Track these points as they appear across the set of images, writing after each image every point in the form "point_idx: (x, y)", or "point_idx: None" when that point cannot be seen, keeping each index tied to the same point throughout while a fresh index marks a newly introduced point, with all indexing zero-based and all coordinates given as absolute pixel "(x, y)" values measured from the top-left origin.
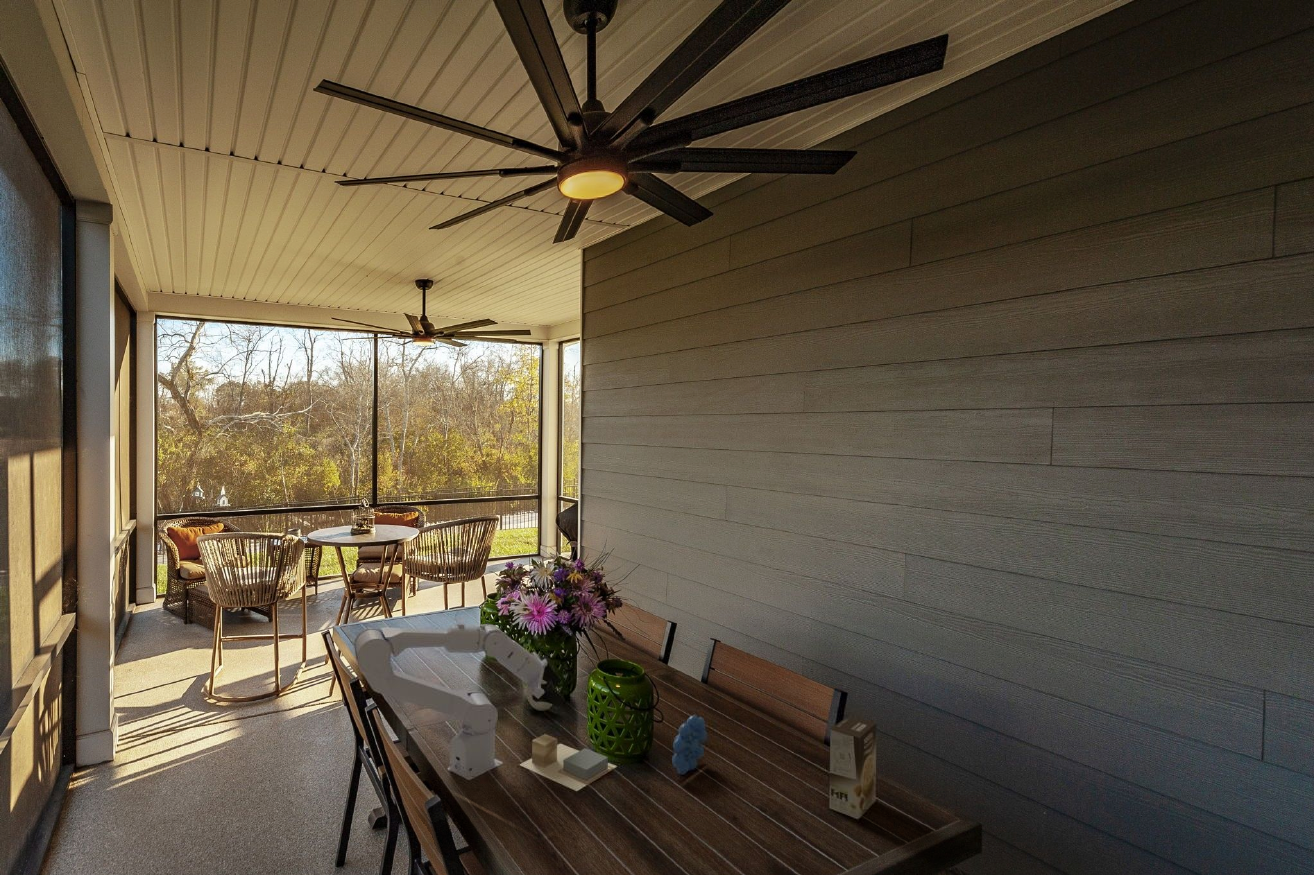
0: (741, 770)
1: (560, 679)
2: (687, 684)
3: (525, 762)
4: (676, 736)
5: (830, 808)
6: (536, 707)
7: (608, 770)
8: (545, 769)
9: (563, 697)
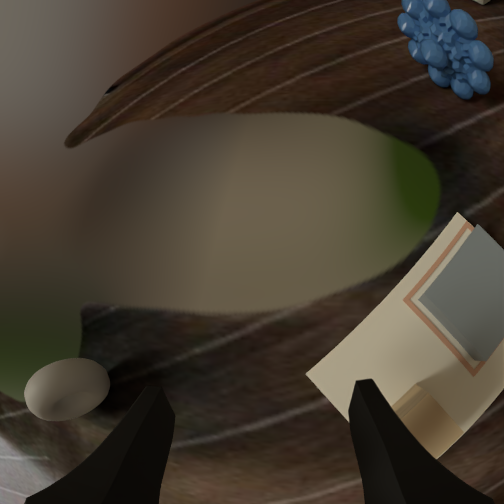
0: None
1: (157, 394)
2: (108, 107)
3: None
4: (435, 51)
5: (483, 4)
6: (100, 402)
7: None
8: (455, 412)
9: (364, 391)
